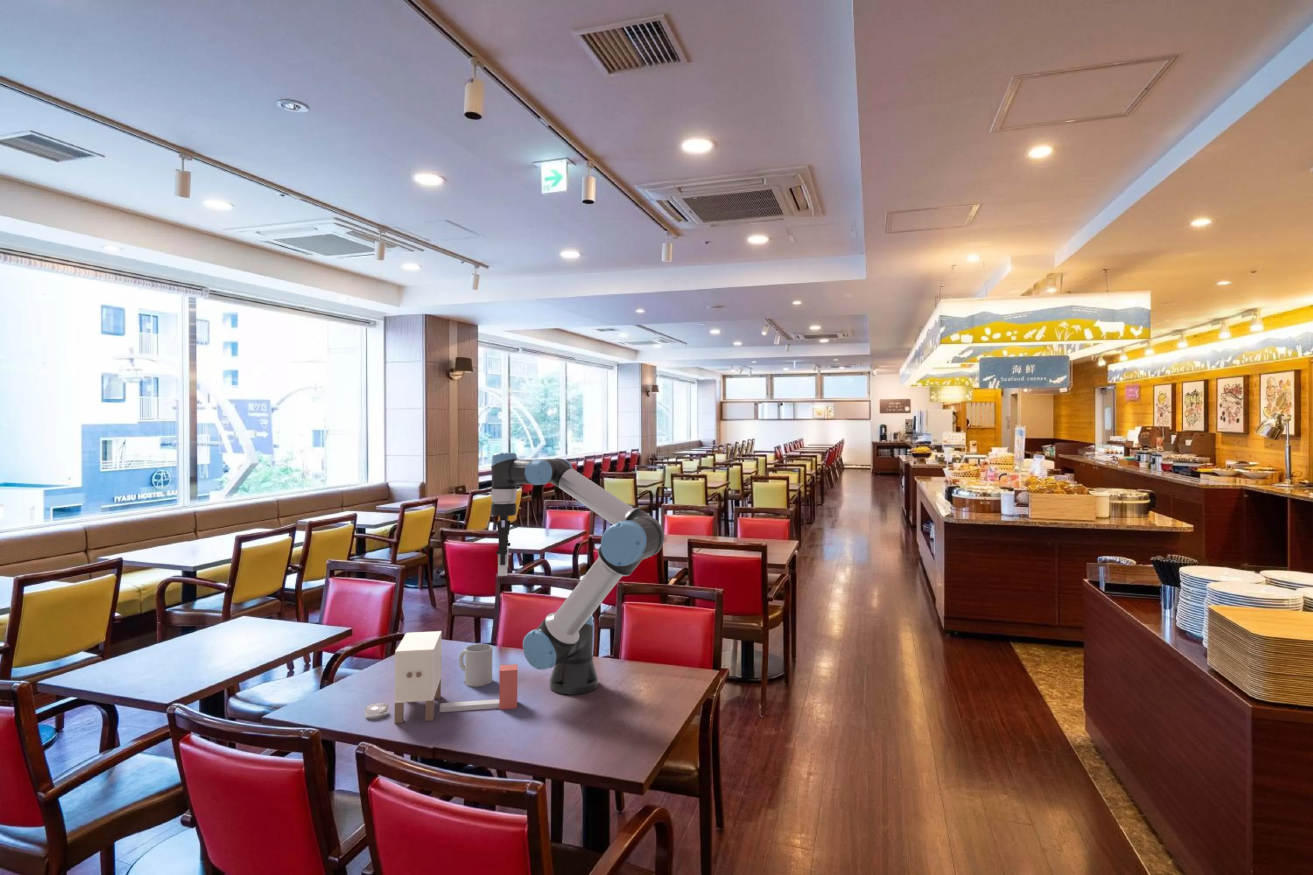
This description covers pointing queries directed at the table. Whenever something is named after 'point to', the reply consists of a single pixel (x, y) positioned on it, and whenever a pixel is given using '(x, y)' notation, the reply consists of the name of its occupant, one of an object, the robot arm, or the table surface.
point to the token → (376, 711)
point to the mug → (477, 664)
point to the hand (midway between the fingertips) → (503, 571)
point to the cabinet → (418, 672)
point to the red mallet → (504, 702)
